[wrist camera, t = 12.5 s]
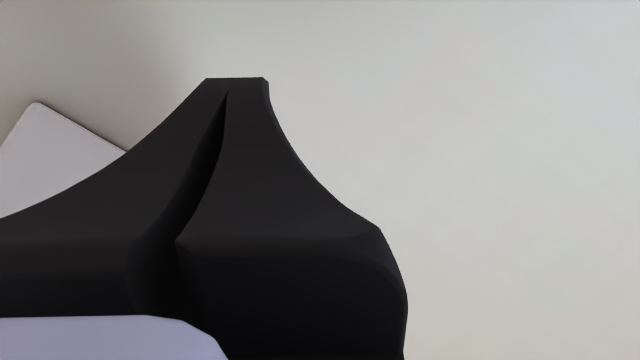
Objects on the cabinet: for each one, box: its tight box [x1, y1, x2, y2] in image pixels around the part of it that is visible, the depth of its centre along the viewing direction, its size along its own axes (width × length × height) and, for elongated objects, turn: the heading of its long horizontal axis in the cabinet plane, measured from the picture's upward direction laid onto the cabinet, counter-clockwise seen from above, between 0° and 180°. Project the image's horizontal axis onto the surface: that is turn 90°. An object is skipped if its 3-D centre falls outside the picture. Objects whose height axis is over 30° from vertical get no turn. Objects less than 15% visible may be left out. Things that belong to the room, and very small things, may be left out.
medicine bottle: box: [0, 102, 126, 218], centre depth 22 cm, size 7×7×12 cm
